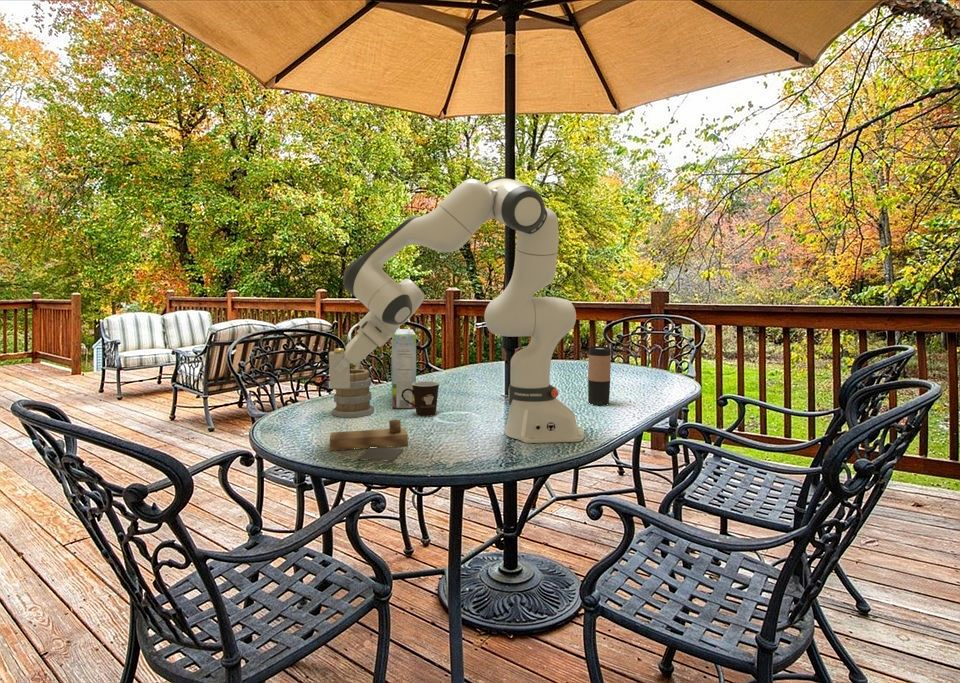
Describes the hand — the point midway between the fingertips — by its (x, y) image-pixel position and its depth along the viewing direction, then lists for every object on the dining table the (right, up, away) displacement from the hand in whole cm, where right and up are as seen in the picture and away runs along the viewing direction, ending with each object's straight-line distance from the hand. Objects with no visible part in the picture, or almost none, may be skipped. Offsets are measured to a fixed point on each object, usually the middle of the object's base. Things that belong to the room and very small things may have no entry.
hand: (337, 368), depth 146 cm
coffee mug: (+18, -17, +37) cm, 45 cm away
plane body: (+8, -21, +3) cm, 22 cm away
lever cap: (+1, -5, +1) cm, 5 cm away
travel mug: (+79, -15, +51) cm, 95 cm away
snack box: (+10, -15, +54) cm, 57 cm away
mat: (+13, -22, -6) cm, 26 cm away
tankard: (-4, -16, +42) cm, 45 cm away
